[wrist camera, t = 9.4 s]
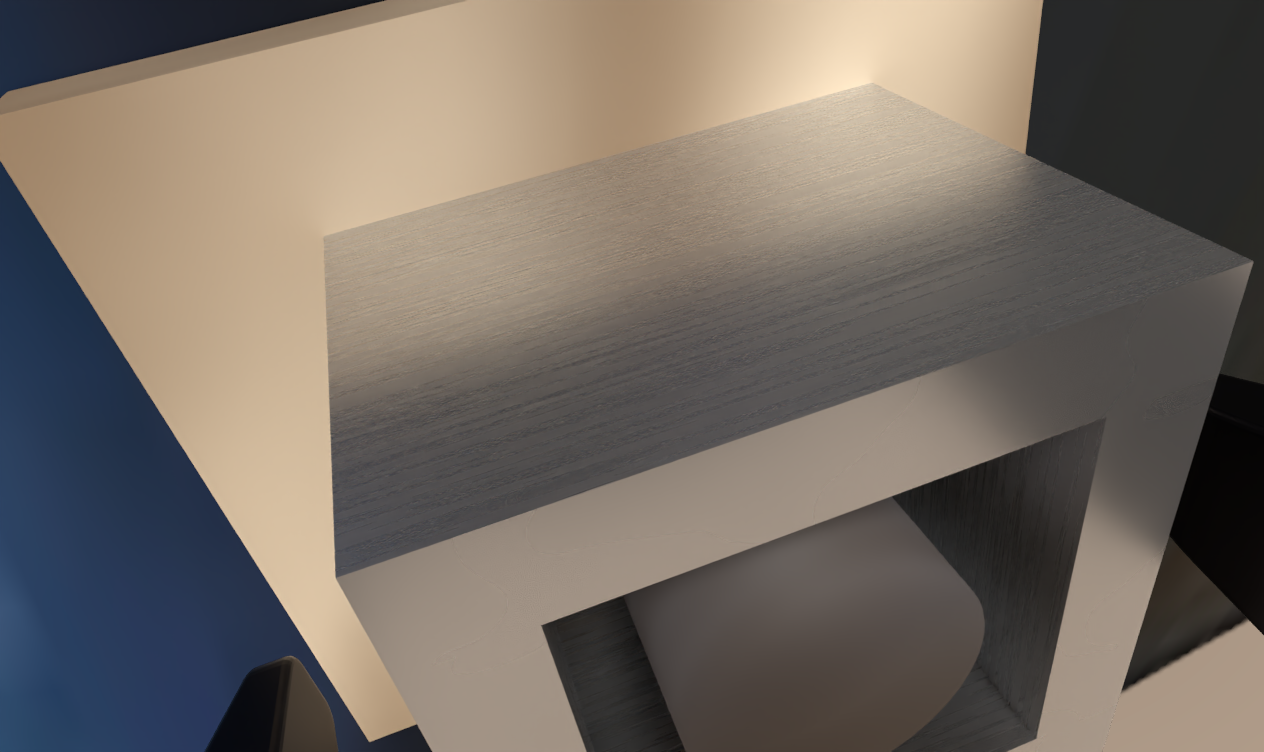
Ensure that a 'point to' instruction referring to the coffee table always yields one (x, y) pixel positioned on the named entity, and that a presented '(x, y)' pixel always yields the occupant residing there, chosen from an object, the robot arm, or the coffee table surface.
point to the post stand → (458, 167)
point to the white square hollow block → (762, 411)
